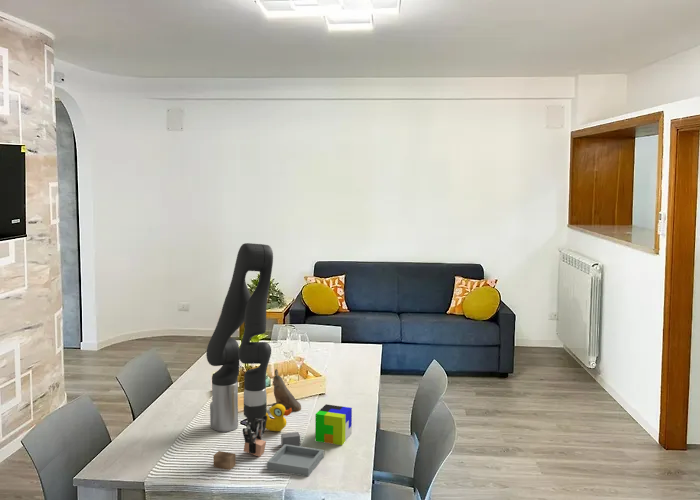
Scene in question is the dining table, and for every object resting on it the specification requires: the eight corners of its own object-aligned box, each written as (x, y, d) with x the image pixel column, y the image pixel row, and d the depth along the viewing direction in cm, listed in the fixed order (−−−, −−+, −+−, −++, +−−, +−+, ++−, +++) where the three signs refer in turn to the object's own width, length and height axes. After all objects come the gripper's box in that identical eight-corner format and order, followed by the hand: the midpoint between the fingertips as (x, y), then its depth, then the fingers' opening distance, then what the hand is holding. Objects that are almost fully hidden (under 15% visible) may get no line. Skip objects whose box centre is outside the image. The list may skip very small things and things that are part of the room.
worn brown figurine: (271, 416, 250) (261, 373, 248) (274, 411, 256) (265, 368, 254) (299, 412, 248) (290, 368, 246) (302, 407, 254) (293, 364, 252)
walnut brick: (213, 467, 201) (213, 455, 201) (219, 462, 205) (219, 450, 204) (230, 470, 200) (230, 458, 199) (235, 465, 203) (235, 453, 202)
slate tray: (267, 469, 200) (267, 461, 200) (284, 451, 213) (284, 444, 213) (308, 476, 196) (308, 468, 195) (323, 457, 209) (323, 449, 209)
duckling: (293, 428, 232) (293, 402, 231) (290, 434, 227) (290, 407, 226) (263, 426, 234) (263, 400, 233) (259, 432, 228) (259, 406, 227)
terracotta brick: (243, 451, 210) (245, 440, 209) (248, 446, 213) (250, 435, 213) (259, 456, 208) (261, 445, 208) (264, 452, 212) (266, 441, 211)
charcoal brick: (282, 448, 215) (282, 437, 215) (281, 444, 219) (281, 433, 218) (300, 447, 217) (300, 435, 217) (298, 442, 220) (298, 431, 220)
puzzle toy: (351, 434, 228) (351, 407, 227) (342, 445, 218) (342, 417, 217) (325, 430, 231) (325, 404, 230) (315, 441, 222) (315, 414, 220)
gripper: (254, 392, 216) (254, 440, 218) (234, 407, 203) (234, 457, 205) (274, 395, 214) (274, 443, 216) (255, 410, 201) (255, 461, 203)
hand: (255, 450), depth 211 cm, fingers closed on terracotta brick, 3 cm apart
